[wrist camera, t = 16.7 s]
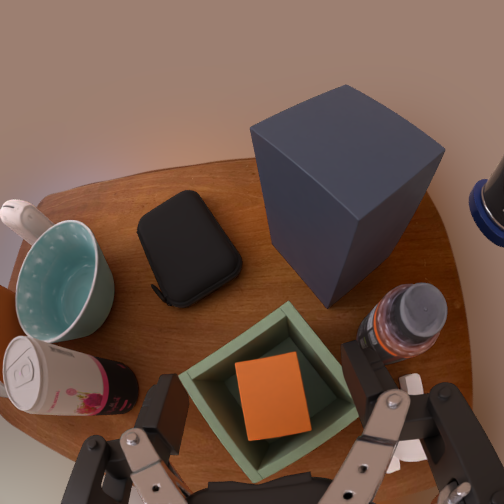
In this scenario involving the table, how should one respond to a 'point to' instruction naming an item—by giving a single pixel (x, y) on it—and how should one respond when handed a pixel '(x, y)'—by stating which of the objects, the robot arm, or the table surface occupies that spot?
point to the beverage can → (65, 380)
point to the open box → (229, 402)
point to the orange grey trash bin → (7, 328)
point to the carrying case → (187, 250)
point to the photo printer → (24, 219)
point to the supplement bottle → (404, 322)
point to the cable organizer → (408, 448)
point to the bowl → (64, 285)
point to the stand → (340, 185)
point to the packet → (272, 396)
